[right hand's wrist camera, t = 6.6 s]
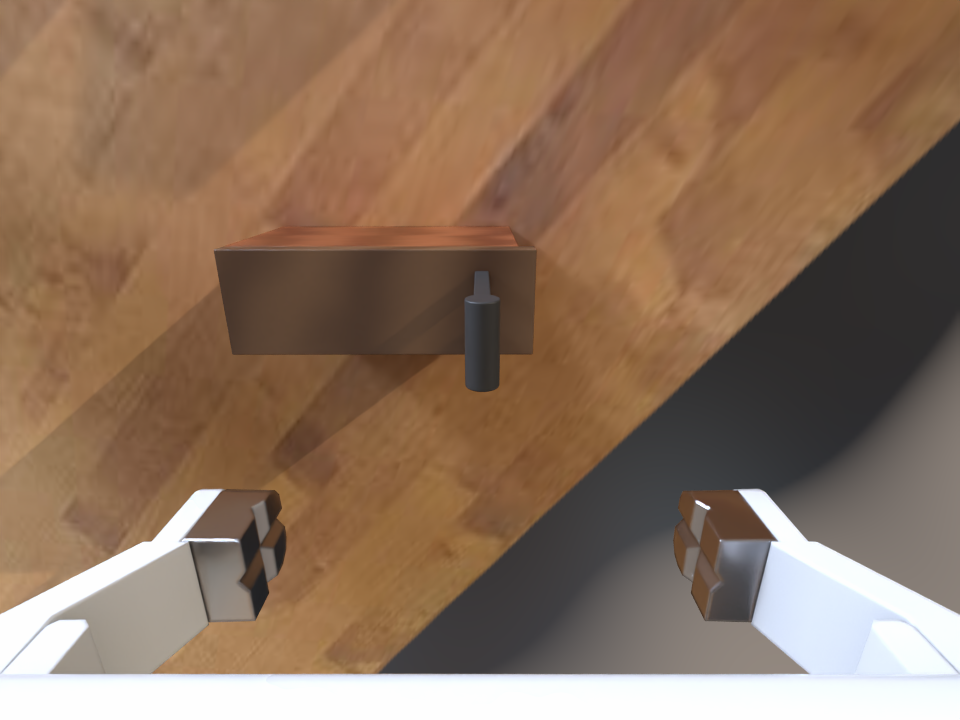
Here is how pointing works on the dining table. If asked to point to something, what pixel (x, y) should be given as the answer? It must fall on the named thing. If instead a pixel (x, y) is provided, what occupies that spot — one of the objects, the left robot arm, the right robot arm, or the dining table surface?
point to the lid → (382, 301)
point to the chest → (384, 236)
